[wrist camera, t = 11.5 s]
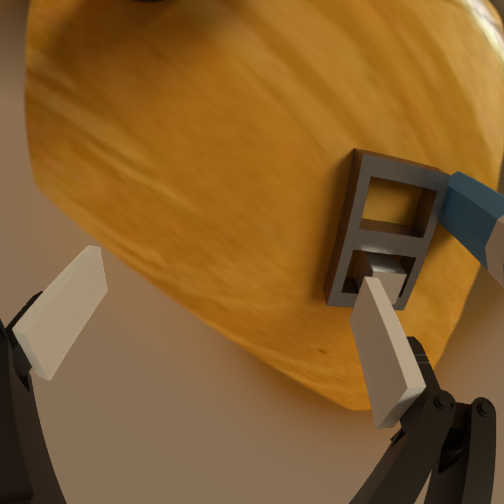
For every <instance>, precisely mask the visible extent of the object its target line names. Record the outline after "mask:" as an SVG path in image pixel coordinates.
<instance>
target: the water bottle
mask: <svg viewBox="0 0 504 504" xmlns="http://www.w3.org/2000/svg"><path fill="white" fill-rule="evenodd" d="M438 220H439V223H440V224H441V225H442V226H444V227H445V228H446V229H447V230H448V231H449V232H450V233H451V234H452V235H453V236H454V237H455V238H456V239H457V240H458V241H459V242H460V243H461V244H462V245H464V246H465V247H466V248H467V249H468V250H469V251H470V252H471V253H472V255H473V256H474V257H475V258H476V259H477V260H478V261H479V262H480V263H481V264H482V265H483V266H484V267H485V268H486V269H487V270H488V271H489V272H490V273H491V275H492V276H493V277H494V278H495V279H496V280H497V281H498V282H499V284H500V285H501V286H502V287H503V288H504V196H503V195H501V194H499V193H498V192H496V191H494V190H493V189H491V188H489V187H488V186H486V185H484V184H482V183H480V182H479V181H477V180H475V179H473V178H471V177H469V176H467V175H465V174H463V173H461V172H459V171H458V172H456V173H455V174H453V175H451V176H450V179H449V183H448V187H447V191H446V194H445V198H444V202H443V205H442V209H441V212H440V215H439V218H438Z"/></svg>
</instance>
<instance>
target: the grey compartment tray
mask: <svg viewBox="0 0 504 504" xmlns="http://www.w3.org/2000/svg"><path fill="white" fill-rule="evenodd" d="M371 176H373V177H378V178H383V179H388V180H393V181H398V182H402V183H407V184H411V185H415V186H420V187H423V190H422V194H421V198H420V201H419V205H418V209H417V212H416V216H415V219H414V222H413V226H406V225H401V224H395V223H388V222H382V221H376V220H369V219H363V218H362V214H363V210H364V205H365V201H366V197H367V192H368V188H369V183H370V178H371ZM449 179H450V175H449V174H447V173H445V172H443V171H441V170H440V169H438V168H435V167H432V166H428V165H424V164H421V163H417V162H413V161H409V160H405V159H401V158H397V157H393V156H389V155H384V154H380V153H375V152H371V151H366V150H361V149H356V148H355V149H354V154H353V160H352V165H351V171H350V176H349V181H348V186H347V191H346V196H345V201H344V206H343V211H342V215H341V220H340V224H339V229H338V233H337V237H336V242H335V246H334V250H333V254H332V258H331V262H330V266H329V270H328V274H327V278H326V282H325V285H324V289H323V290H324V295H325V299H326V304H327V306H340V307H353V308H354V306H355V303H356V300H357V297H358V294H359V290H358V287H357V285H356V282H355V280H354V279H349V278H345V277H346V274H347V271H348V267H349V264H350V260H351V256H352V253H353V249H354V250H362V251H370V252H378V253H386V254H394V255H402V256H403V257H402V260H401V262H400V265H401V266H402V268H403V269H404V271H405V273H406V274H407V275H406V278H405V280H404V283H403V285H402V288H401V290H400V293H399V295H398V298H397V300H396V303H395V304H391V305H392V307H393V309H394V310H404V308H405V306H406V304H407V301H408V299H409V297H410V295H411V292H412V290H413V287H414V285H415V283H416V280H417V278H418V275H419V273H420V270H421V267H422V265H423V262H424V259H425V257H426V254H427V251H428V249H429V246H430V243H431V240H432V237H433V234H434V231H435V228H436V225H437V222H438V218H439V215H440V212H441V209H442V205H443V202H444V198H445V194H446V191H447V187H448V183H449Z"/></svg>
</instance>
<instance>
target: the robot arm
mask: <svg viewBox="0 0 504 504" xmlns="http://www.w3.org/2000/svg"><path fill="white" fill-rule="evenodd" d="M134 1H139V2H156V1H162V0H134ZM107 292H108V288H107V283H106V278H105V272H104V268H103V261H102V255H101V249H100V247H98V246H90V245H88V246H87V247H86V248H85V249H84V250H83V251H82V252H81V253H80V254H79V255H78V256H77V257H76V258H75V259H74V260H73V261H72V262H71V263H70V264H69V265H68V266H67V267H66V268H65V269H64V270H63V271H62V272H61V273H60V274H59V276H58V277H57V278H56V279H55V280H54V281H53V282H52V283H51V284H50V285H49V286H48V287H47V288H46V290H45V291H44V292H43V291H41V292H39V293H38V294H36V295H34V296H33V297H32V298H31V299H30V300H29V301H28V302H27V303H26V305H25V306H24V307H23V308H22V309H21V311H20V312H19V313H18V314H17V315H16V316H15V317H14V319H13V320H12V321H11V322H10V323H9V325H8V326H7V327H6V328H4V326H3V323H2V321H1V319H0V504H67V503H66V501H65V499H64V496H63V494H62V491H61V489H60V486H59V483H58V481H57V478H56V475H55V473H54V469H53V466H52V464H51V460H50V457H49V454H48V450H47V447H46V444H45V440H44V436H43V433H42V429H41V425H40V420H39V416H38V411H37V407H36V402H35V397H34V392H33V385H32V379H31V376H30V374H29V370H30V369H31V368H33V370H34V371H35V373H36V375H37V376H39V377H41V378H43V379H46V380H48V381H50V380H51V379H52V377H53V375H54V373H55V372H56V370H57V368H58V367H59V365H60V363H61V361H62V360H63V358H64V357H65V355H66V354H67V352H68V350H69V349H70V347H71V346H72V344H73V342H74V341H75V339H76V338H77V336H78V335H79V333H80V331H81V330H82V328H83V327H84V325H85V324H86V322H87V321H88V319H89V318H90V316H91V315H92V313H93V312H94V310H95V309H96V307H97V306H98V305H99V303H100V302H101V300H102V299H103V297H104V296H105V295H106V293H107ZM350 324H351V327H352V331H353V335H354V338H355V342H356V346H357V350H358V354H359V357H360V361H361V365H362V369H363V373H364V377H365V382H366V386H367V390H368V394H369V399H370V403H371V408H372V412H373V417H374V421H375V426H376V429H381V428H391V427H394V425H395V424H396V423H397V422H398V421H399V420H400V423H401V426H402V427H401V429H400V430H399V431H398V432H397V433H396V434H395V435H394V436H393V437H392V438H391V439H390V440H391V441H392V442H391V444H390V446H389V447H388V449H387V450H386V452H385V454H384V455H383V457H382V458H381V460H380V461H379V463H378V464H377V466H376V467H375V469H374V470H373V472H372V473H371V475H370V476H369V478H368V479H367V480H366V482H365V483H364V484H363V486H362V487H361V488H360V490H359V491H358V492H357V494H356V495H355V496H354V498H353V499H352V500H351V501H350V503H349V504H414V502H415V501H416V499H417V497H418V495H419V493H420V492H421V490H422V488H423V486H424V484H425V482H426V480H427V478H428V476H429V474H430V472H431V470H432V473H431V477H430V482H429V486H428V490H427V493H426V497H425V501H424V504H491V497H492V490H493V481H494V471H495V456H496V411H495V407H494V406H493V404H492V403H491V402H490V401H489V400H488V399H486V398H483V397H479V398H476V399H475V400H474V401H473V402H472V404H464V403H458V402H455V399H454V398H453V396H452V395H451V394H449V393H448V392H447V391H444V390H441V389H440V387H439V384H438V381H437V379H436V377H435V374H434V372H433V369H432V367H431V365H430V363H429V360H428V358H427V356H426V353H425V351H424V349H423V347H422V345H421V344H420V342H419V341H418V340H417V339H416V338H415V337H406V336H405V333H404V331H403V329H402V326H401V324H400V322H399V320H398V318H397V315H396V313H395V311H394V309H393V307H392V305H391V303H390V300H389V298H388V296H387V294H386V292H385V290H384V288H383V286H382V284H381V282H380V280H379V278H374V277H364V279H363V282H362V286H361V288H360V291H359V294H358V297H357V300H356V303H355V306H354V309H353V311H352V314H351V317H350Z"/></svg>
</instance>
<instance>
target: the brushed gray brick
mask: <svg viewBox="0 0 504 504" xmlns="http://www.w3.org/2000/svg"><path fill="white" fill-rule="evenodd" d="M406 275H407V274H406V273H405V271H404V269H403V268H402V266H401V265H400V263H399V262H398V260H397V259H396V257H395V256H394V254H386V253H378V252H370V251H362V250H359V254H358V257H357V261H356V264H355V268H354V271H353V277H354V280H355V282H356V285H357V287H358V290H359V291H360V288H361V286H362V282H363V279H364V277H374V278H379V280H380V282H381V284H382V286H383V288H384V290H385V292H386V294H387V296H388V298H389V300H390V303H391V304H395V303H396V300H397V298H398V295H399V293H400V290H401V288H402V285H403V283H404V280H405V278H406Z"/></svg>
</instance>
